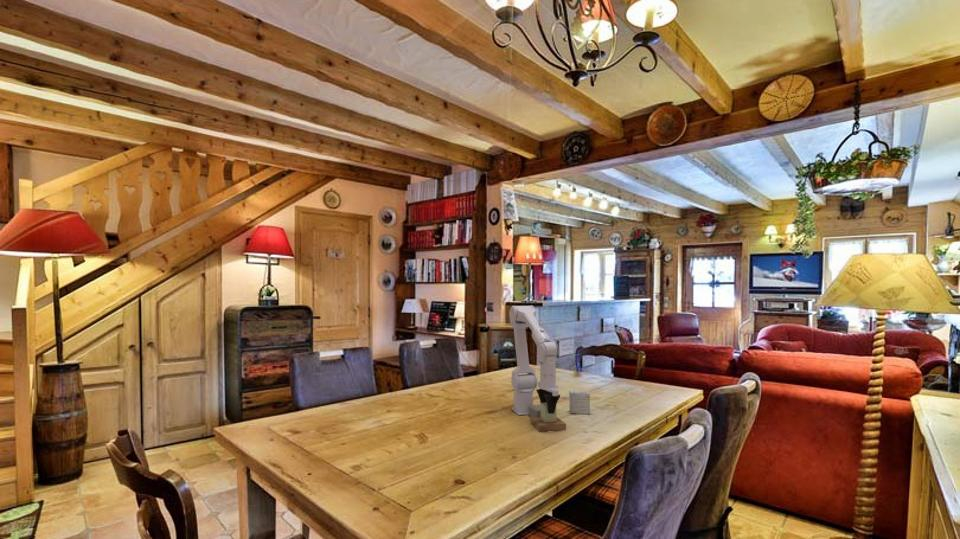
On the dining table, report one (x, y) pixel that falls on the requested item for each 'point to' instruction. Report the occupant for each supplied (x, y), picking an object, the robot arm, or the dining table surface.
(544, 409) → the sage block
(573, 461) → the dining table surface
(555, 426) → the walnut block
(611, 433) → the dining table surface
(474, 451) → the dining table surface
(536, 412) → the grey block
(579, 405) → the medicine box
